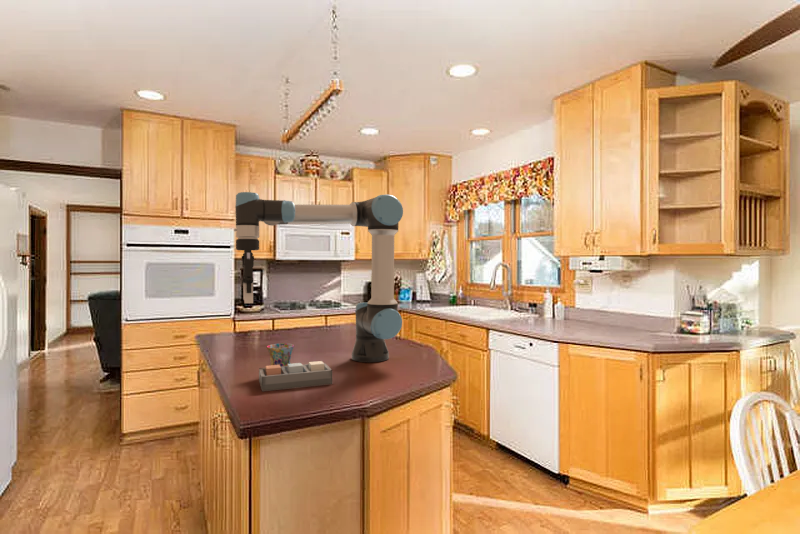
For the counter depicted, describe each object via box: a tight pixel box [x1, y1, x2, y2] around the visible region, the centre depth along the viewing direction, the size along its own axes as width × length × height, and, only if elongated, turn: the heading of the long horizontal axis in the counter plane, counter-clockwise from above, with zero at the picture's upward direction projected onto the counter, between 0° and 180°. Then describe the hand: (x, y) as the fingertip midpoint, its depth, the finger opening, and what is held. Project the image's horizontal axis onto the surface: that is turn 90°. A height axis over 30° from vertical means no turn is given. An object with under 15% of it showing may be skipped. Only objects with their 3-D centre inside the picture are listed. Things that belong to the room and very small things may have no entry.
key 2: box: [308, 360, 325, 371], centre depth 153 cm, size 4×4×2 cm
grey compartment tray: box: [258, 362, 333, 392], centre depth 150 cm, size 22×12×4 cm, turn 111°
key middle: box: [287, 362, 303, 374], centre depth 150 cm, size 4×4×2 cm
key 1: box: [265, 364, 281, 376], centre depth 148 cm, size 4×4×2 cm
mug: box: [266, 342, 295, 367], centre depth 161 cm, size 12×9×11 cm
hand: (248, 301), depth 155 cm, fingers open, 13 cm apart
